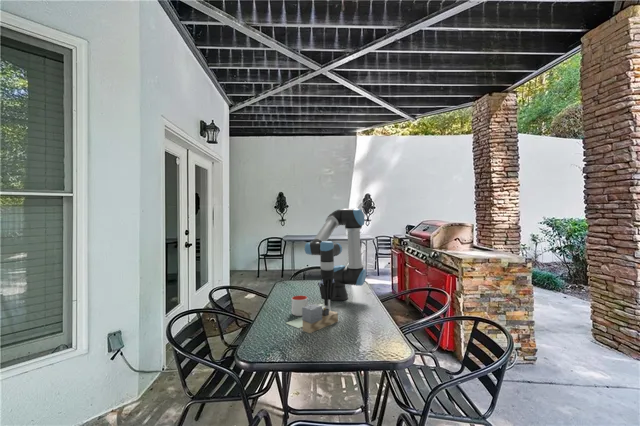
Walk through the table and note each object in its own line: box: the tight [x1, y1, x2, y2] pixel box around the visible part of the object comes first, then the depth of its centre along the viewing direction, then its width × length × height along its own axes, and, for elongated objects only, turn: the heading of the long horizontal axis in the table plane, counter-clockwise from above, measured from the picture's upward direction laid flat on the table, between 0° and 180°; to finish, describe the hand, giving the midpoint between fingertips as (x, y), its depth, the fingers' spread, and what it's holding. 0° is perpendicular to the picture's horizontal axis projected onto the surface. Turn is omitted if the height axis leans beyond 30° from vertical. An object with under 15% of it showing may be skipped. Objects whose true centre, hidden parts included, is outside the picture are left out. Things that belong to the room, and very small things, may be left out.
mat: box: [285, 316, 303, 330], centre depth 165 cm, size 12×11×1 cm
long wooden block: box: [302, 310, 339, 334], centre depth 160 cm, size 22×6×5 cm, turn 136°
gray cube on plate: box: [301, 303, 323, 324], centre depth 156 cm, size 8×7×7 cm
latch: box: [322, 307, 329, 316], centre depth 163 cm, size 3×3×4 cm
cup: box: [290, 295, 309, 317], centre depth 180 cm, size 10×10×10 cm
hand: (327, 310), depth 164 cm, fingers closed
